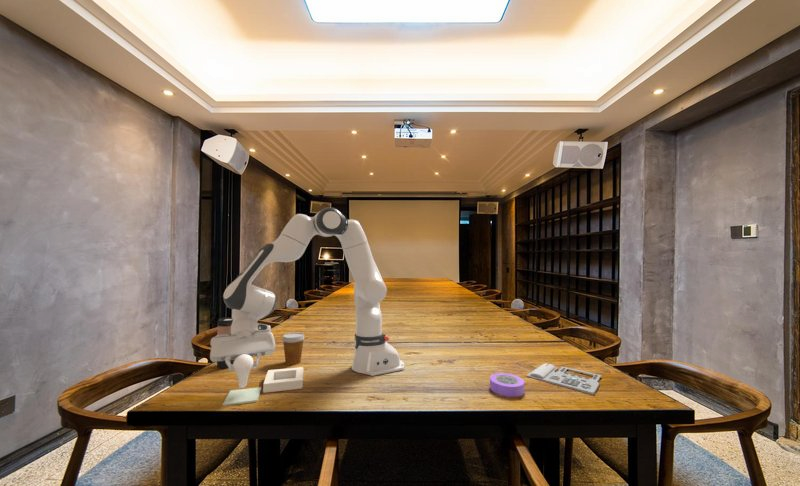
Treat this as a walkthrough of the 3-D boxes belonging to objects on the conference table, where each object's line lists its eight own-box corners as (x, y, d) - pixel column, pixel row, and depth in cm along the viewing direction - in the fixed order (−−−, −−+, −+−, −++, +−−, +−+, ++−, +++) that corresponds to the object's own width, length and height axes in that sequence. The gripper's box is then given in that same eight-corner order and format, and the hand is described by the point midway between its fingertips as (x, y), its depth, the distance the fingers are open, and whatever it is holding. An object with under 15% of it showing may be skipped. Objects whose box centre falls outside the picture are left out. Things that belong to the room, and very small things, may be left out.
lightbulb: (244, 392, 100) (245, 358, 101) (228, 390, 101) (229, 356, 102) (256, 384, 106) (257, 352, 106) (241, 383, 107) (242, 351, 108)
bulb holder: (303, 374, 123) (303, 366, 123) (302, 388, 111) (302, 379, 111) (267, 378, 119) (268, 370, 119) (263, 392, 107) (263, 384, 107)
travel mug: (240, 364, 134) (241, 317, 134) (224, 370, 127) (225, 321, 127) (228, 361, 137) (230, 316, 138) (212, 367, 130) (213, 319, 131)
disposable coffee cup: (308, 361, 138) (309, 334, 138) (291, 367, 130) (291, 339, 130) (294, 357, 143) (295, 331, 144) (276, 363, 135) (277, 335, 135)
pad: (261, 388, 110) (261, 387, 110) (257, 401, 100) (257, 400, 100) (230, 392, 107) (230, 390, 107) (222, 406, 98) (222, 404, 98)
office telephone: (525, 371, 123) (543, 359, 137) (525, 378, 123) (543, 365, 137) (593, 388, 107) (604, 372, 121) (593, 396, 107) (605, 379, 121)
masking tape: (521, 400, 103) (521, 389, 103) (486, 392, 109) (486, 381, 109) (526, 387, 113) (526, 376, 113) (493, 380, 119) (493, 370, 119)
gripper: (210, 330, 106) (206, 369, 97) (274, 325, 115) (276, 360, 106) (211, 340, 110) (207, 378, 101) (273, 334, 119) (275, 368, 110)
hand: (243, 368), depth 103 cm, fingers closed on lightbulb, 6 cm apart
